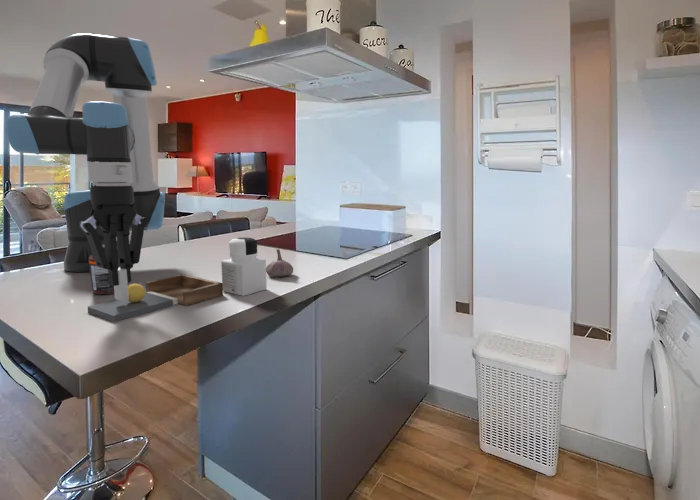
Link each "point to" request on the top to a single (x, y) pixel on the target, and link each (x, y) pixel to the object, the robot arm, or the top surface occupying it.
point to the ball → (136, 292)
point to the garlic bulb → (279, 267)
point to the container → (243, 268)
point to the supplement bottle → (99, 278)
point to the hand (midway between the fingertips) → (122, 299)
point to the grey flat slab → (132, 306)
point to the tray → (186, 288)
